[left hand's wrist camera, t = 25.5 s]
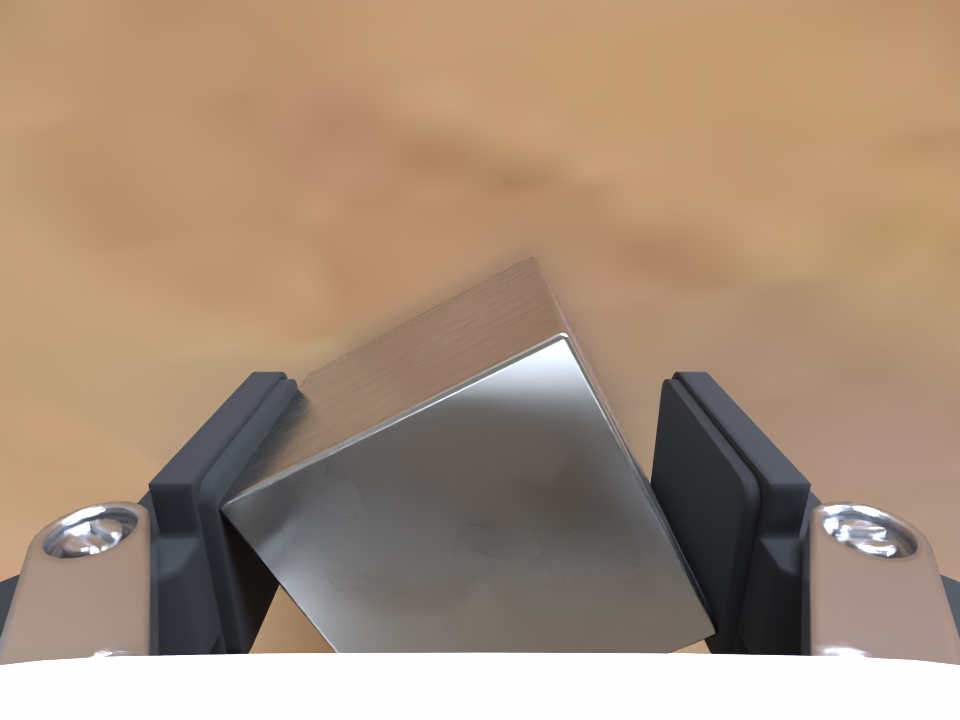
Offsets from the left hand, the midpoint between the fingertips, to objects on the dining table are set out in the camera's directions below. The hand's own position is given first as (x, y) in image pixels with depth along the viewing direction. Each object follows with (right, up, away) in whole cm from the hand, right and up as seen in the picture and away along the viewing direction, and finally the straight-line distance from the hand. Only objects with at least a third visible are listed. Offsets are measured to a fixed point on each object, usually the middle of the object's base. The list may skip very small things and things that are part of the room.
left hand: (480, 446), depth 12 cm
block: (0, 0, +1) cm, 1 cm away
